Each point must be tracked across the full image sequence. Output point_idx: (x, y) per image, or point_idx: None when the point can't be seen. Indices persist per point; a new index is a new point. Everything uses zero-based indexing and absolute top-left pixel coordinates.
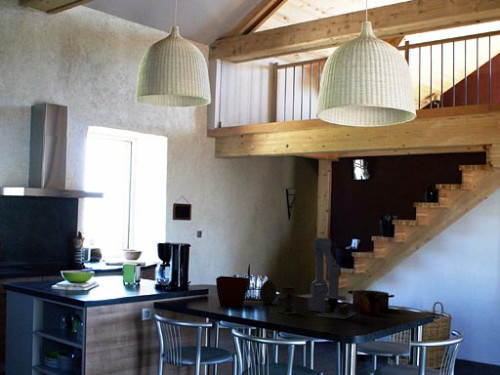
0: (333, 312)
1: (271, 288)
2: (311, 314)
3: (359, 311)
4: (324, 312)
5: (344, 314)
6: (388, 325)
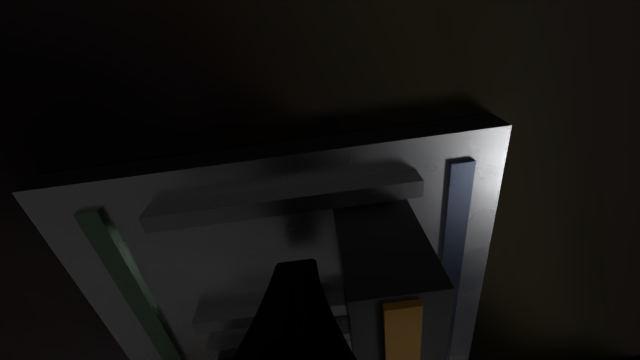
0: None
1: None
2: (608, 179)
3: None
4: None
5: (189, 342)
6: None
